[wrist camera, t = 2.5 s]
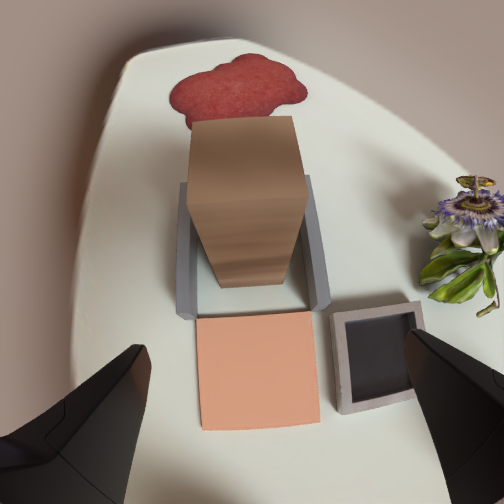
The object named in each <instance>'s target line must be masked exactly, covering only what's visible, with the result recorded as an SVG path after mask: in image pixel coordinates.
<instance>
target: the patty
mask: <svg viewBox="0 0 504 504" xmlns="http://www.w3.org/2000/svg"><path fill="white" fill-rule="evenodd" d="M307 94H308V92H307V89H306V87H305V86H304V85H303V84H302V83H301V82H299V81H298V80H297V79H296V76H295V74H294V72H293V71H292V70H291V69H290V68H289V67H287V66H286V65H284V64H282V63H279V62H276V61H272V60H269V59H268V58H266V57H265V56H263V55H260V54H253V53H248V54H243V55H240V56H238V57H236V58H235V59H234V60H233V61H232V62H231V63H225V64H220V65H218V66H217V67H215V69H214V70H212V71H207V72H201V73H197V74H194V75H191V76H189V77H187V78H185V79H183V80H182V81H180V82H179V83H178V84H177V85H176V86H175V87H174V88H173V90H172V92H171V94H170V104H171V105H172V107H173V108H174V109H175V110H176V111H178V112H179V113H182V114H185V116H186V124H187V126H188V128H189V129H190V130H192V122H197V121H206V120H217V119H229V118H244V117H265V116H269V115H270V114H271V113H272V112H273V111H274V109H275V108H277V107H278V106H280V105H282V104H296V103H300V102H302V101H303V100H305V99H306V97H307Z"/></svg>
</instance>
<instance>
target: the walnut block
mask: <svg viewBox="0 0 504 504" xmlns="http://www.w3.org/2000/svg"><path fill="white" fill-rule="evenodd" d="M308 199H309V195H308V189H307V184H306V179H305V174H304V169H303V165H302V160H301V155H300V151H299V146H298V142H297V137H296V133H295V128H294V124H293V120H292V116H265V117H244V118H229V119H217V120H206V121H197V122H192V133H191V144H190V156H189V169H188V184H187V202H186V205H187V208H188V210H189V213H190V215H191V218H192V220H193V223H194V225H195V228H196V230H197V232H198V235H199V237H200V240H201V242H202V245H203V247H204V249H205V252H206V254H207V256H208V259H209V261H210V264H211V266H212V268H213V271H214V273H215V275H216V278H217V280H218V282H219V284H220V287H221V288H234V287H250V286H265V285H279V284H283V282H284V278H285V275H286V272H287V269H288V266H289V262H290V259H291V256H292V253H293V249H294V246H295V243H296V240H297V236H298V233H299V230H300V226H301V223H302V219H303V216H304V213H305V209H306V206H307V202H308Z"/></svg>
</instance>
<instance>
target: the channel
mask: <svg viewBox="0 0 504 504" xmlns="http://www.w3.org/2000/svg"><path fill="white" fill-rule="evenodd" d="M305 179H306V184H307V189H308V195H309V199H308V202H307V206H306V209H305V213H304V216H303V219H302V223H301V226H300V236H301V243H302V250H303V257H304V265H305V272H306V280H307V288H308V297H309V305H310V311H311V312H315V311H323V310H324V309H325V308H326V307H327V306H328V305H330V304H331V297H330V290H329V283H328V276H327V269H326V263H325V256H324V250H323V244H322V238H321V233H320V227H319V221H318V216H317V211H316V205H315V200H314V195H313V190H312V185H311V181H310V176H309V175H305ZM187 184H188V182H187V183H180V196H179V211H178V230H177V255H176V314H177V315H179V316H180V317H182V318H183V319H185V320H196V319H198V317H197V230H196V228H195V225H194V223H193V220H192V218H191V215H190V213H189V210H188V208H187V205H186V202H187Z"/></svg>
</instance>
